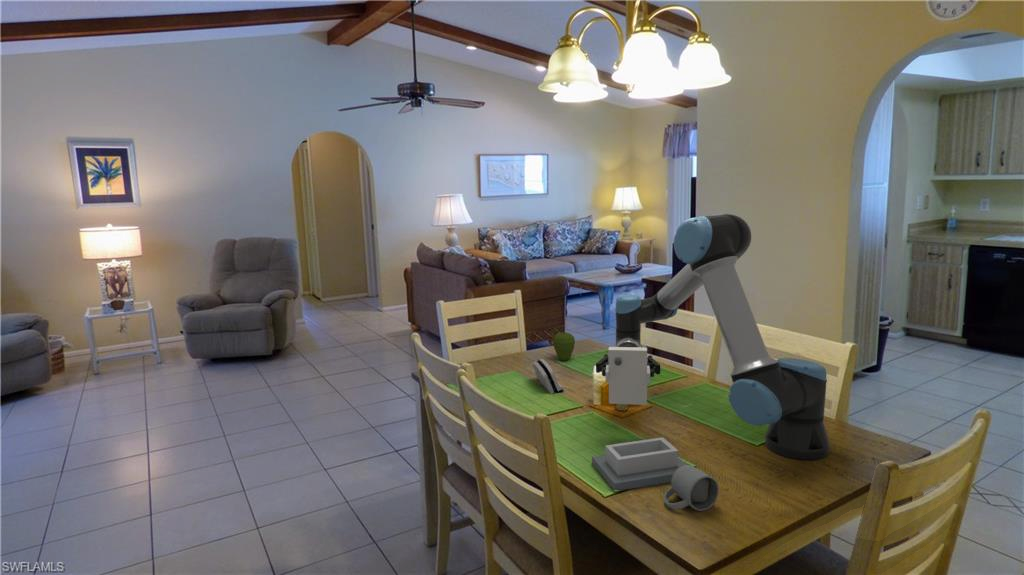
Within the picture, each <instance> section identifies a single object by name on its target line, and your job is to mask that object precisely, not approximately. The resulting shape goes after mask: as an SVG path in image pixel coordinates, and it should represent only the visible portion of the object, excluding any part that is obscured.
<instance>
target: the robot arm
mask: <svg viewBox="0 0 1024 575" xmlns="http://www.w3.org/2000/svg"><path fill="white" fill-rule="evenodd" d="M675 231H676V232H675V234H674V237H673V249H674V253H675V255H676V257H677V258H678V259H679V260H680V261H681V262H683V263H684V264H686V265H685V266H684V267H682V269H681V270H680V271H678V272H677V273H676V274H675V275H674V276H673V277H672V278H671V279H670V280H669V281H668V282H667V283H666V284H665V285H664V286H663V287H661V289H659V291H658V292H656V293H655V295H653V296H652V297H647V298H641V297H640V295H637V294H629V293H628V294H619V295H618V296H617V297H616V299H615V301H616V302H615V321H616V322H615V323H616V324H615V347H641V345H642V344H641V331H642V330H641V325H642V324H647V323H652V322H657V321H662V320H667V319H669V318H673V317H675V316H676V315H677V312H678V310H679V306H680V305H682V304H683V303H684V302H685V301H686V300H688V299H689V298H690V297H691V296H692V295H693V294H694V293H695V292H696V291H698V290H699V289H700V288H701V287H702V286H704V289H705V292H706V294H707V297H708V301H709V302H710V307H711V308H712V312H713V314H714V317H715V320H716V322H717V324H718V328H719V330H720V333H721V335H722V338H723V340H724V341H723V342H724V343H725V347H726V349H727V352H728V355H729V356H730V359H731V362H732V364H733V365H732V366H733V369H732V371H731V372H730V377H731V381H732V384H731V386H730V387H729V392H728V400H729V401H728V402H729V403H730V406H731V409H732V410H733V411H734V413H735V415H737V416H738V418H740V419H741V420H742V421H745V422H746V423H747V424H749V425H752V426H757V427H759V426H760V427H761V426H765V425H766V426H767V425H769V426H768V428H767V430H766V432H765V439H764V443H765V446H766V448H768V449H769V450H770V451H771V452H773V453H776V454H778V455H781V456H783V457H787V458H791V459H796V460H803V461H804V460H805V461H807V460H809V461H811V460H812V461H813V460H820V459H824V458H825V457H827V456H828V455H829V454H830V449H831V447H830V446H831V443H830V439H829V436H828V432H827V429H826V426H825V422H824V419H825V418H824V417H825V407H826V406H825V405H826V403H825V402H826V393H827V392H826V390H827V382H828V379H827V370H826V367H824V366H823V365H822V364H820V363H818V362H815V361H810V360H806V359H802V358H801V359H800V358H796V357H795V358H793V357H780V358H778V359H775V358H773V357H771V356H770V355H769V353H768V350H767V347H766V345H765V342H764V340H763V337H762V335H761V331H760V329H759V327H758V324H757V322H756V319H755V316H754V314H753V311H752V309H751V306H750V303H749V301H748V298H747V296H746V293H745V290H744V288H743V285H742V283H741V280H740V277H739V275H738V272H737V270H736V267H735V266H736V263H737V261H738V260H739V259H740V258H741V257H742V256H744V254H745V253H746V252H747V250H748V249H749V247H750V246H751V242H752V231H751V228H750V226H749V224H748V222H746V221H745V220H744V219H743V218H742V217H740V216H738V215H734V214H731V213H730V214H728V213H724V214H717V215H706V216H705V215H704V216H703V215H698V216H695V217H691V218H687V219H685V220H683V221H682V222H681V223H680V225H678V227H677V228H676V230H675ZM595 372H596V374H598V373H601V376H603V377H605V383H609V354H608V353H607V354H603V357H602V358H600V359H599V360H598V361H597V362H596V363H595ZM655 374H656V375H661V364H660V363H658V362H657V361H656V360H655V358H653V355H647V384H651V378H654V377H655Z"/></svg>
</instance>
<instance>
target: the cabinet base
mask: <svg viewBox="0 0 1024 575" xmlns="http://www.w3.org/2000/svg"><path fill="white" fill-rule="evenodd" d="M604 450H605V452H604V453H605V454H601V455H595V456H594V455H593V456H591V465H592V464H593V465H594V466H595V467H596V468H595V467H594V466H593V465H592V466H593V467H594V468H595V470H596V469H597V470H598V471H599V472H600V473H601V474H602V476H603V477H604V478H605V479H606V480H605V479H604V478H603V477H602V478H603V479H604V480H605V482H606V481H607V482H608V483H609V484H610V485H611V487H612V488H613V489H614V490H621V491H626V489H627V490H632V489H633V488H634V489H638V488H639V489H640V488H644V487H651V486H657V485H662V484H669V483H670V484H671V478H672V475H673V473H674V471H675V470H676V469H677V468H678V467H680V466H683V465H687V463H685V462H684V461H683V460H682V459H681V458H680V457H679V450H678V449H677V448H676V447H675V446H673V444H671V443H670V442H669V441H668V440H667V439H666V438H664V437H663V436H662V437H654V438H650V439H642V440H636V441H629V442H621V443H614V444H609V445H607V444H605V448H604ZM597 470H596V471H597ZM598 471H597V472H598ZM599 472H598V473H599ZM600 473H599V474H600ZM601 474H600V475H601ZM607 482H606V483H607ZM608 483H607V484H608ZM609 484H608V485H609ZM610 485H609V486H610ZM611 487H610V488H611ZM612 488H611V489H612ZM613 489H612V490H613ZM634 489H633V490H634ZM614 490H613V491H614Z"/></svg>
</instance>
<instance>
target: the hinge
mask: <svg viewBox="0 0 1024 575" xmlns="http://www.w3.org/2000/svg"><path fill="white" fill-rule="evenodd" d="M531 365H532V367H533V370H534V373H535V376H536V378H537V380H538V379H539V380H540V381H539V380H538V381H539V382H540V383H541V384H542V385H543V387H544V386H545V387H546V388H545V387H544V388H545V389H546V390H547V391H548V392H549V394H551V393H553V394H555V392H559V391H561V392H563V393H566V391H565V388H564V387H563V385H561V384H560V382H558V380H557V377H556V375H555V372H554V370H553V369H552V368H551V366H550V365H549V363H548V362H547V361H546V360H545V359H544V358H540V359H537V360H536V361H534V362H532V363H531Z"/></svg>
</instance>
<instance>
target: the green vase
mask: <svg viewBox="0 0 1024 575" xmlns="http://www.w3.org/2000/svg"><path fill="white" fill-rule="evenodd" d="M552 342H553V343H552V344H553V348H554V351H555V353H556V356H557V357H558V358H559V360H560V361H562V362H566V361H568V360H569V359H570V358H571V356H572V355H573V352H574V348H575V342H576V338H575V337H574V335H573V334H572V333H570V332H564V331H563V332H558V333H556V334H555V335H554V336H553V339H552Z"/></svg>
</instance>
